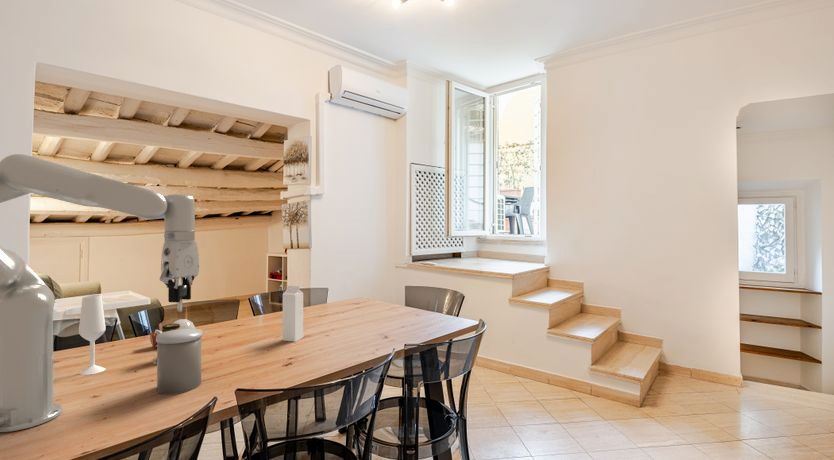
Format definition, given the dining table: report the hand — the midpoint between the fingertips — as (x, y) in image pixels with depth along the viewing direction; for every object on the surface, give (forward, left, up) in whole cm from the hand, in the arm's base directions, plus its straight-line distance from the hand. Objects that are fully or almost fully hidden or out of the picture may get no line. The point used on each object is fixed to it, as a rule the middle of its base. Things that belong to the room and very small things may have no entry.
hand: (179, 300), depth 116 cm
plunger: (0, 0, -3) cm, 3 cm away
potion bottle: (+36, +32, -25) cm, 54 cm away
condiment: (+20, +21, -25) cm, 38 cm away
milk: (+51, -10, -25) cm, 58 cm away
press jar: (0, 0, -25) cm, 25 cm away
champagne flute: (+6, +36, -25) cm, 44 cm away
